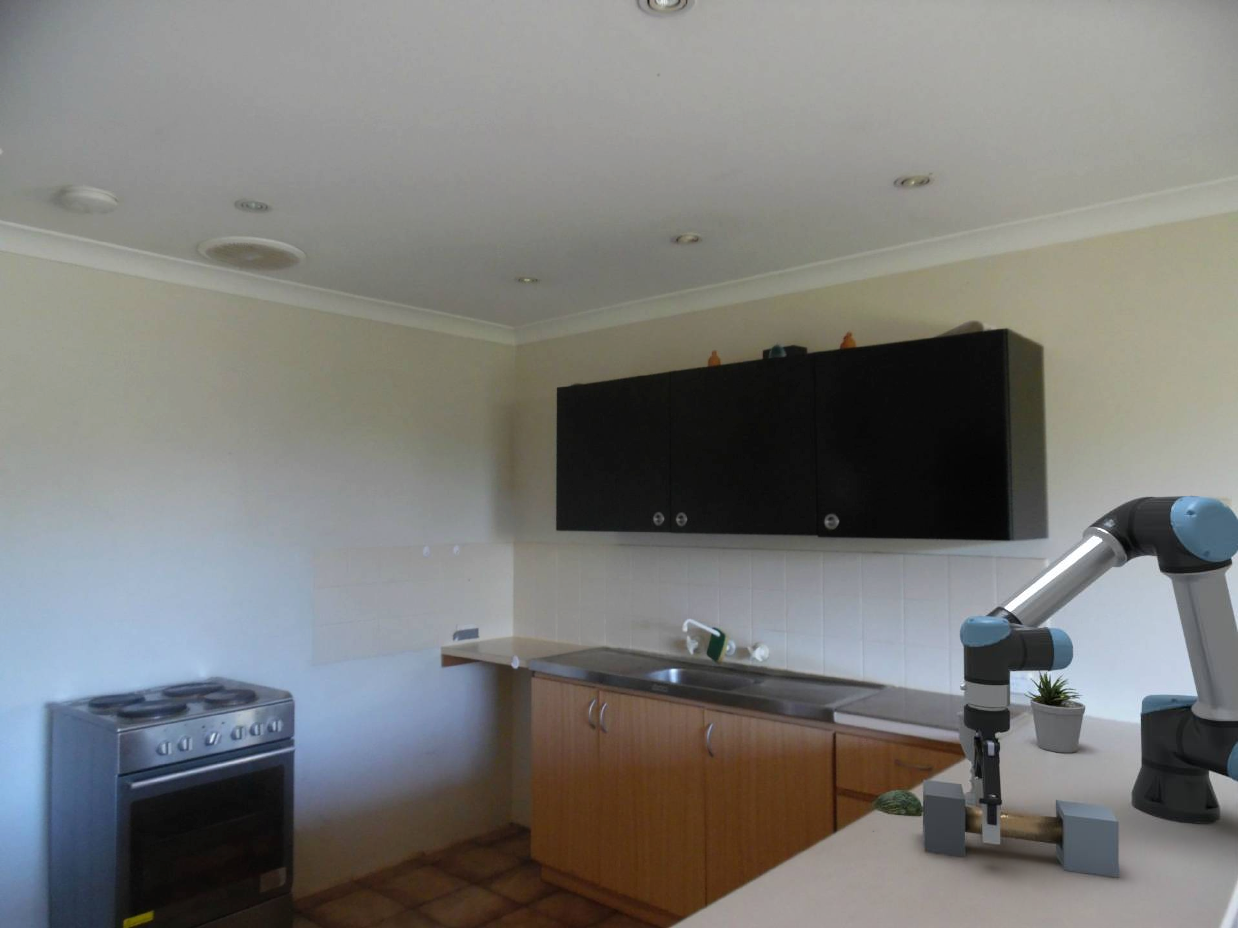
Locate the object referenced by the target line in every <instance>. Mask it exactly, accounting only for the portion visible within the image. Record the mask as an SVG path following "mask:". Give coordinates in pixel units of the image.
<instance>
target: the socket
mask: <svg viewBox="0 0 1238 928" xmlns="http://www.w3.org/2000/svg"><path fill="white" fill-rule="evenodd" d="M922 785H923V786H922V787H923V789H922V791H923V793H922V798H923V799H922V806H923V812H922V839H923V849H924V853H931V854H932V853H933V854H939V855H945V856H952V857H953V856H954V857H961V858H966V832H965V796H964V795H965V793H964V789H963V786H962V783H956V782H946V781H936V780H928V779H923V784H922Z"/></svg>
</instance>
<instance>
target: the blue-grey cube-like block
mask: <svg viewBox="0 0 1238 928" xmlns="http://www.w3.org/2000/svg"><path fill="white" fill-rule="evenodd" d="M1055 817H1061V818H1062V820H1063V845H1057V844H1055V854H1056V856H1057V859H1058V860H1059V862H1060V864H1061V867H1062V869H1063V870H1064V871H1067V872H1069V871H1070V872H1075V873H1080V874H1081V873H1082V874H1087V875H1088V874H1090V875H1098V876H1103V877H1110V878H1118V879H1119V874H1120V871H1119V869H1120V868H1119V865H1120V864H1119V858H1120V857H1119V856H1120V855H1119V854H1120V852H1119V851H1120V849H1119V845H1120V843H1119V842H1120V839H1119V838H1120V836H1119V835H1120V834H1119V832H1120V829H1119V828H1120V827H1119V825H1120V821H1119V820H1118V819H1117V817H1116V816H1115V815H1114V813H1113V812H1112V810H1111V809H1110V808H1109V806H1108V805H1101V804H1094V803H1093V804H1092V803H1085V802H1083V803H1082V802H1075V801H1067V800H1061V799H1060V800H1059V799H1058V800H1057V799H1056V800H1055Z"/></svg>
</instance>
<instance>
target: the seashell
mask: <svg viewBox="0 0 1238 928" xmlns="http://www.w3.org/2000/svg"><path fill="white" fill-rule="evenodd" d="M871 806H872V807H873V809H875V810H876V811H879V812H882V813H884V814H888V815H893V816H903V817H906V816H915V817H921V816H922V815H923V804H922V803H921V800H920V799H919V797H918V796H917V795H916V794H915V793H913V792H911V791H909V790H902V789H895V790H891V791H888V792H885V793H883V794H881V795H880V796H878V798H876V799H875V800H874V801H873V802H872V803H871Z"/></svg>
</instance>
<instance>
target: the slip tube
mask: <svg viewBox="0 0 1238 928" xmlns="http://www.w3.org/2000/svg"><path fill="white" fill-rule="evenodd" d="M966 833H967V834H973V835H981V836H982V808H980V807H971V806H965V834H966ZM1000 838H1006V839H1011V840H1021V841H1029V842H1034V843H1043V844H1050V845H1056V844H1057V845H1063V820H1062V818H1061V817H1056V816H1050V815H1043V814H1036V813H1026V812H1019V811H1010V810H1003V809H1000Z"/></svg>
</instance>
